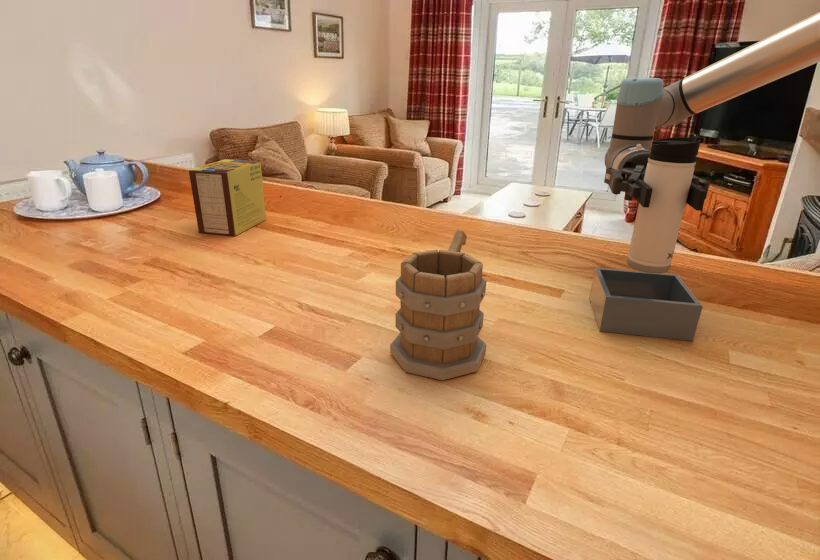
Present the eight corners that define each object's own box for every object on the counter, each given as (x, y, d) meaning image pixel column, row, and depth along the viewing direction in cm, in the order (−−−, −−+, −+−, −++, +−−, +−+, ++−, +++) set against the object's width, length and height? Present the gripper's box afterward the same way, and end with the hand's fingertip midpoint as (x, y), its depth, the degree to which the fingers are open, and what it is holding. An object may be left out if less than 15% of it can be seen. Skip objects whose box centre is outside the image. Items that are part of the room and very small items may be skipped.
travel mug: (679, 274, 75) (713, 139, 67) (635, 273, 75) (665, 138, 67) (660, 260, 81) (690, 134, 73) (620, 259, 81) (645, 133, 73)
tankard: (470, 387, 63) (478, 279, 57) (379, 367, 67) (378, 264, 61) (500, 320, 80) (508, 231, 74) (426, 307, 84) (429, 222, 78)
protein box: (267, 219, 132) (261, 160, 125) (235, 236, 118) (227, 171, 112) (232, 216, 134) (224, 158, 128) (197, 232, 120) (186, 168, 114)
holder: (670, 305, 86) (678, 274, 84) (693, 341, 75) (703, 305, 72) (589, 298, 88) (594, 267, 86) (599, 331, 77) (606, 296, 75)
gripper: (586, 147, 90) (606, 169, 69) (700, 151, 86) (758, 176, 65) (580, 188, 93) (598, 221, 72) (690, 194, 89) (742, 230, 68)
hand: (674, 199), depth 69 cm, fingers closed on travel mug, 6 cm apart
